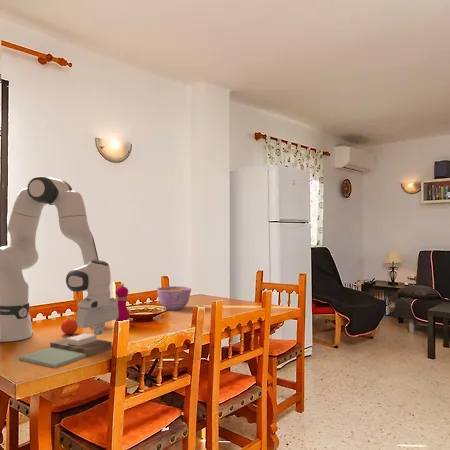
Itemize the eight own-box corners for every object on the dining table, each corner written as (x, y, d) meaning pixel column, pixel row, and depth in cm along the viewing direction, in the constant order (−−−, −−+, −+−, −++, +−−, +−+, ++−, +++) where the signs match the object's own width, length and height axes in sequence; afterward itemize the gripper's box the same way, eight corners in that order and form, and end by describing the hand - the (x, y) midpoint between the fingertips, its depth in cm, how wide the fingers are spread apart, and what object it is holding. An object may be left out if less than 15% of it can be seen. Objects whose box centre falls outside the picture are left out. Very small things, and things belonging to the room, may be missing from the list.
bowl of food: (152, 306, 247) (152, 287, 247) (184, 304, 255) (184, 285, 256) (162, 313, 229) (162, 292, 229) (196, 310, 237) (196, 290, 237)
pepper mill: (113, 327, 196) (114, 284, 196) (113, 323, 203) (114, 282, 203) (129, 326, 198) (130, 284, 198) (128, 322, 205) (129, 282, 205)
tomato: (74, 330, 188) (74, 315, 188) (83, 333, 184) (83, 317, 184) (57, 334, 182) (58, 318, 182) (66, 337, 178) (66, 320, 178)
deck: (50, 349, 160) (50, 342, 160) (74, 341, 171) (74, 335, 171) (88, 356, 151) (88, 349, 151) (111, 348, 162) (111, 342, 162)
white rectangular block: (67, 343, 159) (67, 338, 159) (85, 338, 167) (85, 333, 167) (78, 345, 156) (78, 340, 156) (96, 340, 164) (96, 335, 164)
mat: (19, 359, 147) (19, 356, 147) (51, 349, 160) (51, 346, 160) (54, 367, 139) (54, 364, 139) (86, 356, 152) (86, 353, 152)
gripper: (110, 296, 180) (110, 328, 180) (74, 303, 162) (73, 339, 162) (122, 297, 177) (121, 330, 177) (86, 305, 159) (85, 341, 159)
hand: (98, 334), depth 169 cm, fingers closed
